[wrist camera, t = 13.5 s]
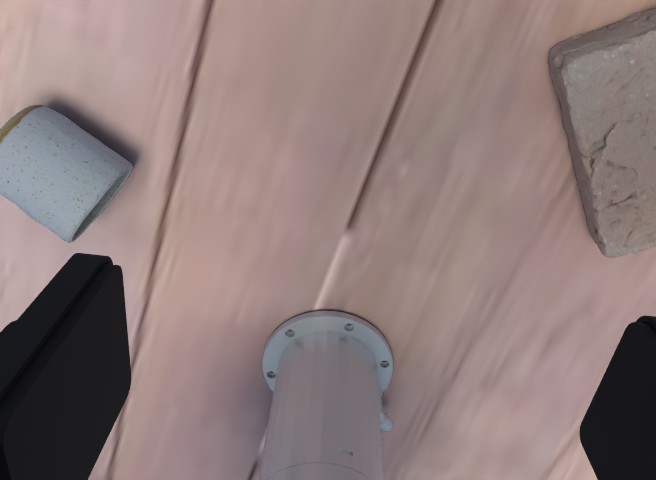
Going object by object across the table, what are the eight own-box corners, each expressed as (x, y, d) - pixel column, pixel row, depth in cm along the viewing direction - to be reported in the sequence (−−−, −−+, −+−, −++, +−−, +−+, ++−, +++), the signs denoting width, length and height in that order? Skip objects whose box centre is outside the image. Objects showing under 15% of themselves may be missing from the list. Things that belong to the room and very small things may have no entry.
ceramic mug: (52, 85, 42) (-7, 116, 35) (146, 151, 44) (108, 192, 37) (-2, 184, 46) (-63, 227, 39) (86, 239, 48) (42, 289, 42)
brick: (540, 49, 40) (562, 63, 35) (662, -1, 38) (700, 7, 34) (585, 236, 47) (607, 265, 43) (689, 201, 45) (723, 228, 41)
